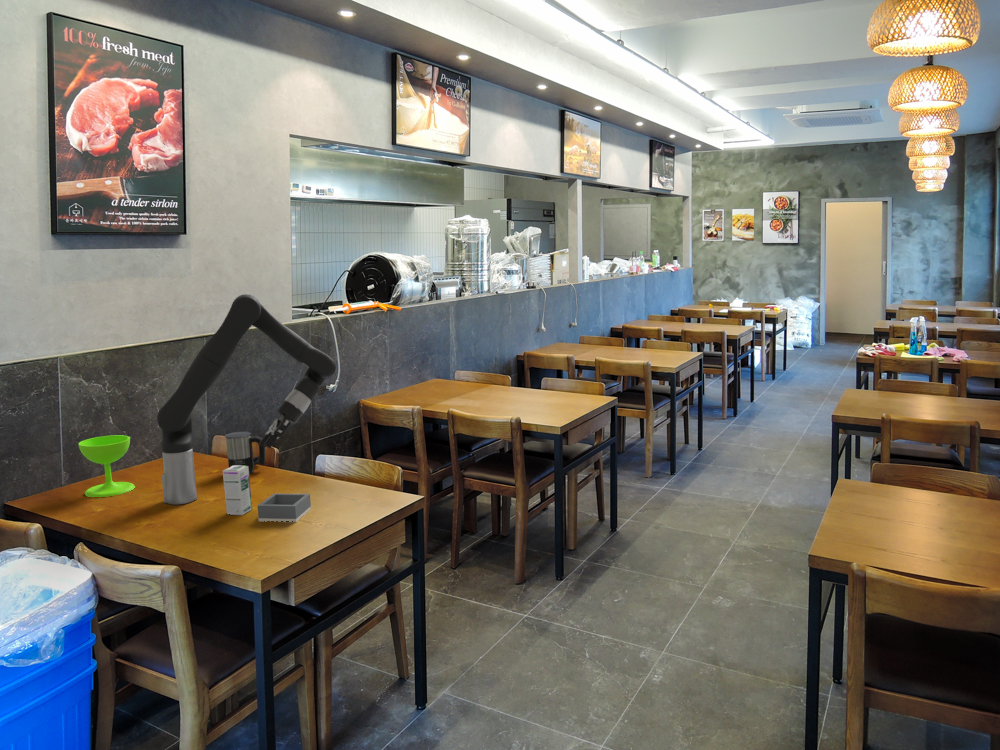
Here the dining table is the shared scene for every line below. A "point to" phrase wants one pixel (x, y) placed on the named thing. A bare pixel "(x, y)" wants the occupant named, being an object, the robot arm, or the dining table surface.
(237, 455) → the milk frother
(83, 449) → the wineglass
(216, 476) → the dining table surface
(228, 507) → the syrup box
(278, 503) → the socket box
